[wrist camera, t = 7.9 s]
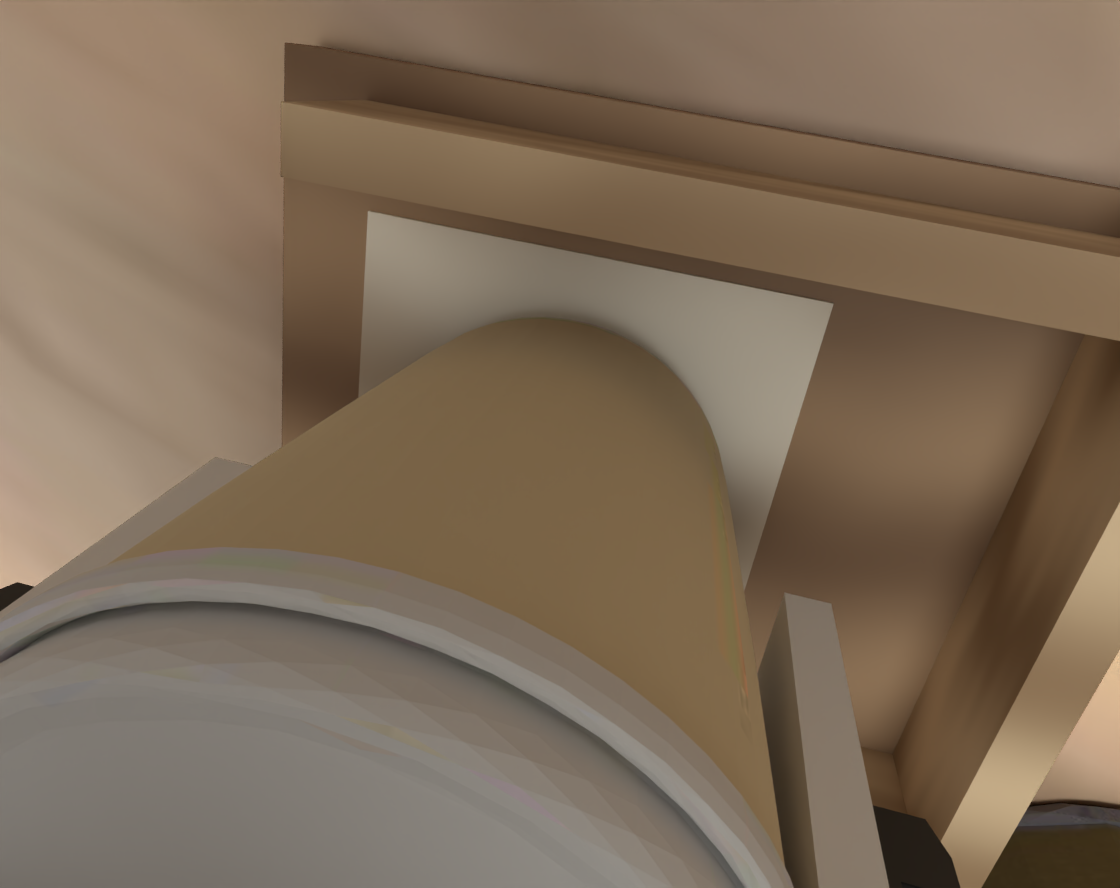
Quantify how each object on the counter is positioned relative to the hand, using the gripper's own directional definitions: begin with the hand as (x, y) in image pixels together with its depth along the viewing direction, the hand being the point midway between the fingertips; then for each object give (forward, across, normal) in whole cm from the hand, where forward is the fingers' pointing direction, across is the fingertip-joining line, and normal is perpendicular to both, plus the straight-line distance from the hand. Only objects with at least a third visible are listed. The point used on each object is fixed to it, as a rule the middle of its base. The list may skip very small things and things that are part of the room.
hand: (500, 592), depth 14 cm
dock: (+7, +2, 0) cm, 7 cm away
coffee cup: (+5, 0, 0) cm, 5 cm away
